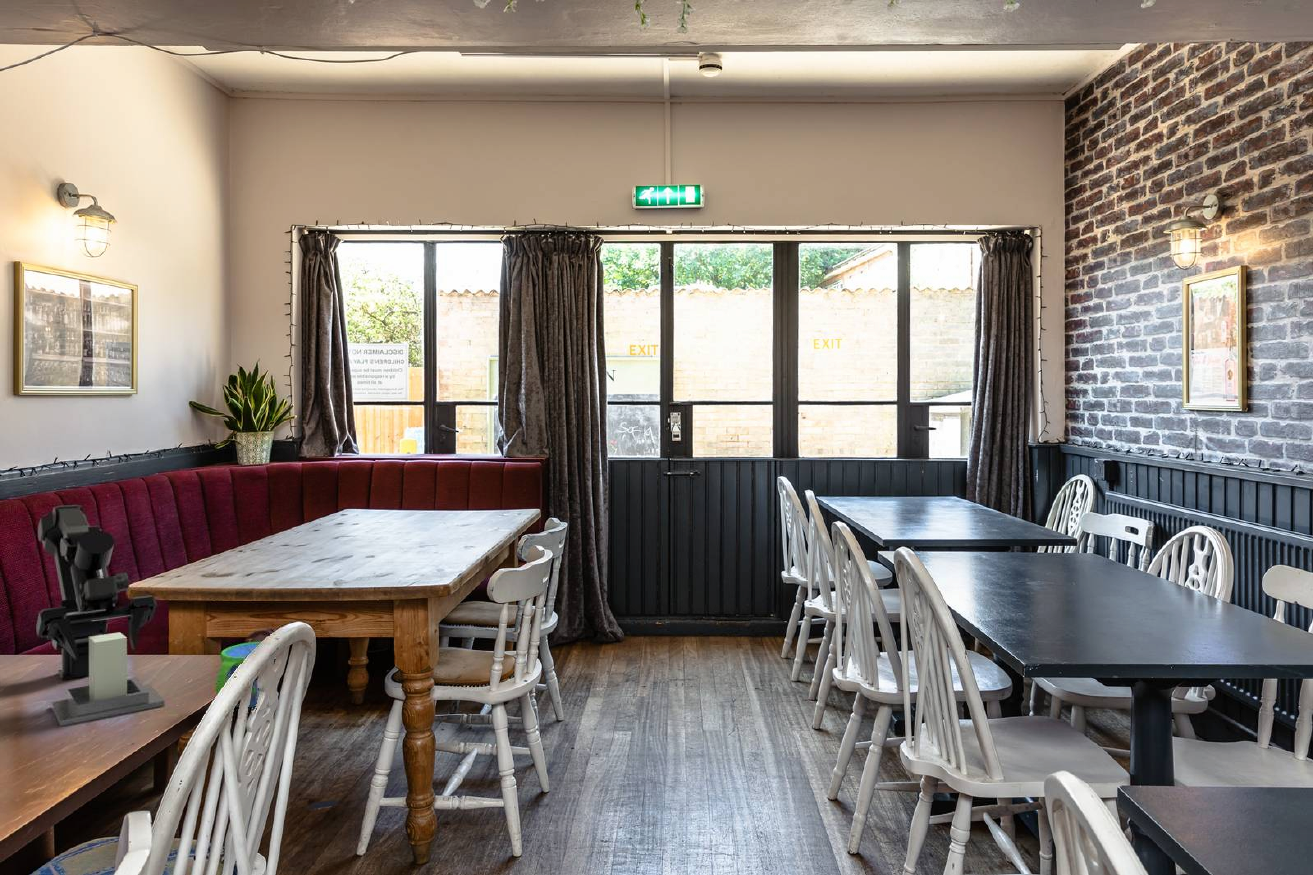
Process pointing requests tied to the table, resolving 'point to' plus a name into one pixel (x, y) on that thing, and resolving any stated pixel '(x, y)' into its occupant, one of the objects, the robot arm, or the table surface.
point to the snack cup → (236, 666)
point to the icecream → (259, 635)
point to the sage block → (107, 666)
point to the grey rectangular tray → (105, 703)
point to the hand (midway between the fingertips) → (106, 653)
